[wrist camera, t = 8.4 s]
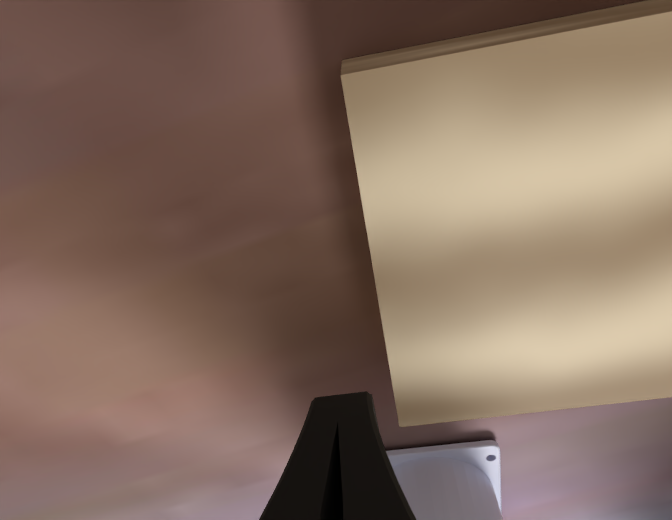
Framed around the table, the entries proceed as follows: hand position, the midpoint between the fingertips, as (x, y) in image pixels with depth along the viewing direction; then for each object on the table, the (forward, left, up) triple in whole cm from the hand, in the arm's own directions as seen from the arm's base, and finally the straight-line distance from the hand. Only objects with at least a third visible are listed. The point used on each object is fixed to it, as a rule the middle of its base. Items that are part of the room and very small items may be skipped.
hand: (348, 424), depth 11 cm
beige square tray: (0, -8, -10) cm, 13 cm away
